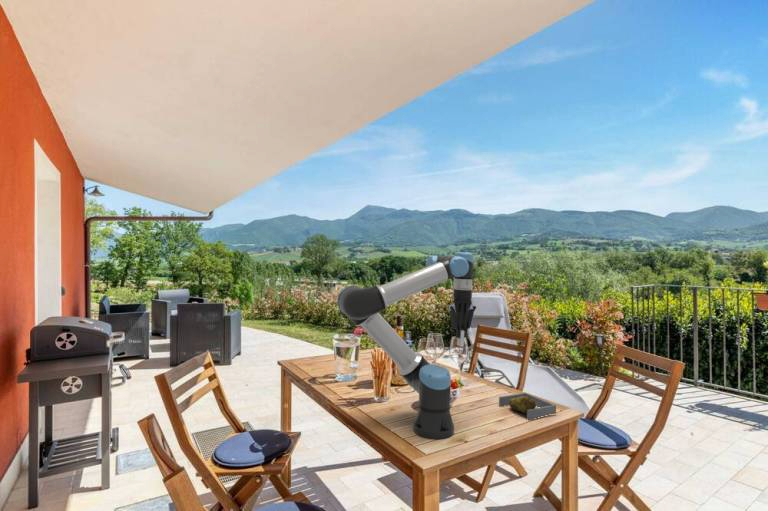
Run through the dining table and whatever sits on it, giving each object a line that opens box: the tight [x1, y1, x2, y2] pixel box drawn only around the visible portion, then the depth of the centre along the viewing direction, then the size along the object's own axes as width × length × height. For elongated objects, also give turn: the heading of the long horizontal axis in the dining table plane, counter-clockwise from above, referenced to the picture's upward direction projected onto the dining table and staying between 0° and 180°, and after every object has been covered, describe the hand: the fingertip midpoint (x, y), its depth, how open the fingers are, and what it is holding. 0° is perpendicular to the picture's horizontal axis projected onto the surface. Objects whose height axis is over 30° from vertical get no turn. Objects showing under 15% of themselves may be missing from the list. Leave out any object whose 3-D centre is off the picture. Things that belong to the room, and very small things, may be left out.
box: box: [498, 392, 557, 421], centre depth 184 cm, size 15×18×4 cm
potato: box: [508, 396, 537, 414], centre depth 181 cm, size 8×13×8 cm, turn 5°
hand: (460, 345), depth 178 cm, fingers closed
